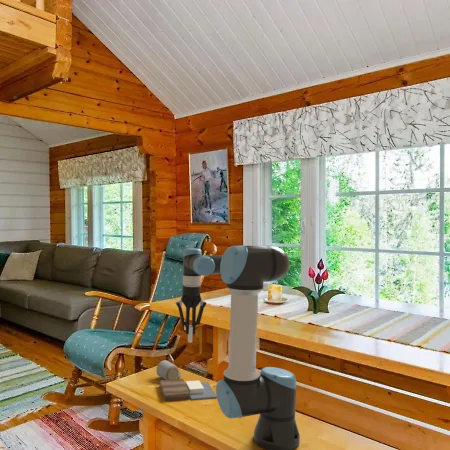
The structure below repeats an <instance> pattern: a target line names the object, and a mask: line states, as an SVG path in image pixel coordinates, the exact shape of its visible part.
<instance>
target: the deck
mask: <svg viewBox="0 0 450 450" xmlns="http://www.w3.org/2000/svg"><path fill="white" fill-rule="evenodd" d="M159 389H160V391H161V393H162V397H163V400H164V402H173V401H183V400H184V401H186V400H191V398H190V392H189V390H188V388H187V386H186V381H185V380H184V378H176V379H172V380H165V379H161V380H159Z"/></svg>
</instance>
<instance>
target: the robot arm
mask: <svg viewBox="0 0 450 450" xmlns="http://www.w3.org/2000/svg"><path fill="white" fill-rule="evenodd" d="M202 252H203V251H202V249H201V248H195V247H191V248H189V247H188V248H185V249H184V250H183V256H182V259H183V262H182V265H183V266H182V285H183V286H182V294H181V298H180V300H179V301H175V305H176V306H177V309H178V313H179V318H180V323H181V324H182V326H183V327H184V326H185V334H186V335H187V342H188V343H190V344H191V343H193V336H194V335H195V334H196V326H199V325H200V324H201V320H202V317H203V312H204V309H205V307H206V305H207V302H206V301H205V300H203V299H202V297H201V279H202V277H203V276H206V277H207V276H209V275H220V278H221V280H222V282H224V283H225V284H226V289H228V291H229V292H230V318H229V342H228V344H229V345H228V346H229V347H228V367H227V368H226V369H225V370H224V371H223V379H220V380H218V381H217V383H216V385H215V394H216V396H217V398H216V400H217V403H218V406H219V408H220V411H221V412H222V414H223V415H224V416H225V417H226V418H227V419H242V418H245V417H251V416H256V415H259V417H258V419H257V421H256V425H255V427H254V431H253V441H254V443H255V444H256V445H257V446H259V447H261V448H262V449H265V450H295V449H296V448H298V446H299V445H300V441H301V440H300V439H301V437H300V432H299V431H300V430H299V428H298V425H297V421H296V403H297V402H296V398H297V396H296V395H297V388H298V387H297V379H296V376H295V374H294V373H293V372H291V371H289V370H286V369H283V368H280V367H273V366H265V367H263V368H261V371H259V370H257V368H256V367H257V366H256V365H257V341H258V340H257V335H258V308H259V307H258V305H259V294H260V293H261V292H262V291H263V290H264V283H267V282H275V281H276V282H277V281H279V280H280V279H282V278H283V277H285V276H286V274H288V272H289V269H290V259H289V256H288V254H287V253H286V252H285V251H284V250H283V249H282V248H280V247H278V246H276V245H275V246H274V245H244V244H241V245H231V246H229V247H228V248H227V249H226V250H225V251H224V253H223V255H222V254H221V255H220V254H219V255H218V254H217V255H216V254H215V255H214V254H213V255H212V254H211V255H202ZM183 305H184V307H185V318H184V312H183V307H182V306H183ZM199 305H200V306H199ZM198 306H199V309H198V313H197V307H198ZM190 313H191V314H190ZM190 315H191V316H190ZM190 317H191V318H190ZM190 319H191V325H190Z"/></svg>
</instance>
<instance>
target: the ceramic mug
mask: <svg viewBox="0 0 450 450" xmlns="http://www.w3.org/2000/svg"><path fill="white" fill-rule="evenodd" d="M156 375H157V376H158V377H159V378H161V379H162V380H172V379H178V378H181V377H182V373H181V372H180V370H179V368H178V366H177V365H176V364H174V363H172V362H170V361H169V360H166V359H165V360H162V361H160V362H159V363H158V364H157V366H156Z"/></svg>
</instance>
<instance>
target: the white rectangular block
mask: <svg viewBox="0 0 450 450" xmlns="http://www.w3.org/2000/svg"><path fill="white" fill-rule="evenodd" d="M201 383H202V382H201V381H200V380H187V381H185V384H186V386H187V388H188V390H189V392H190V394H199V393H204V387H203V386H202V384H201Z"/></svg>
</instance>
